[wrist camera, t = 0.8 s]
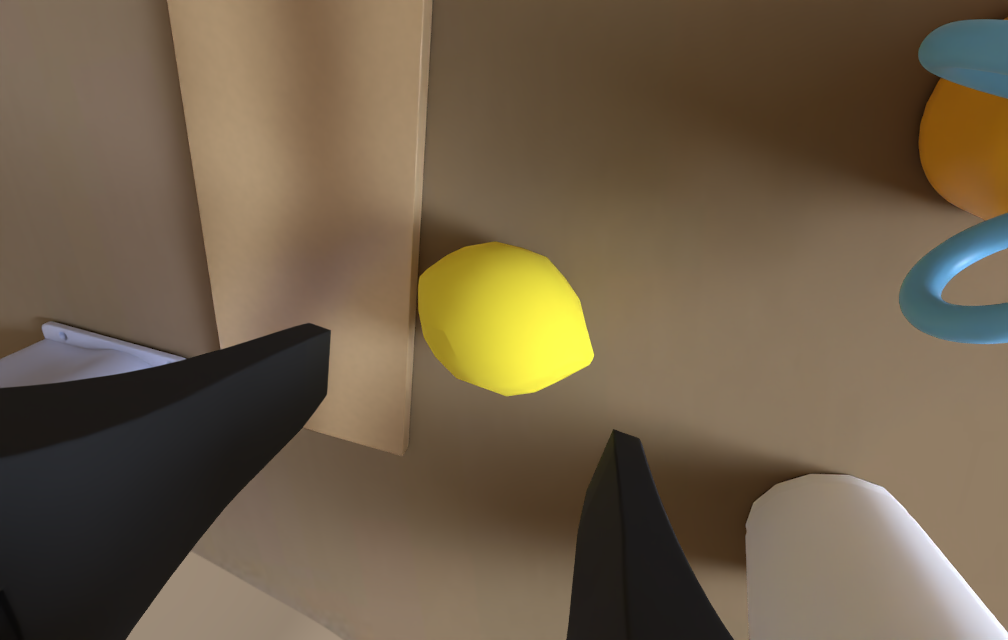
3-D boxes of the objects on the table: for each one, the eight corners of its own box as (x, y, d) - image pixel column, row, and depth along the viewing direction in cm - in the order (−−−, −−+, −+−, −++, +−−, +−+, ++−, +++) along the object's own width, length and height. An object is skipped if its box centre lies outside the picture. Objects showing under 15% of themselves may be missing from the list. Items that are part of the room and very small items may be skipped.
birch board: (239, 398, 28) (228, 407, 27) (177, -40, 19) (159, -45, 18) (408, 446, 26) (402, 456, 26) (433, -6, 17) (424, -10, 16)
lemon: (425, 305, 23) (367, 368, 18) (467, 195, 20) (411, 233, 15) (568, 377, 22) (546, 459, 18) (629, 274, 20) (623, 339, 15)
